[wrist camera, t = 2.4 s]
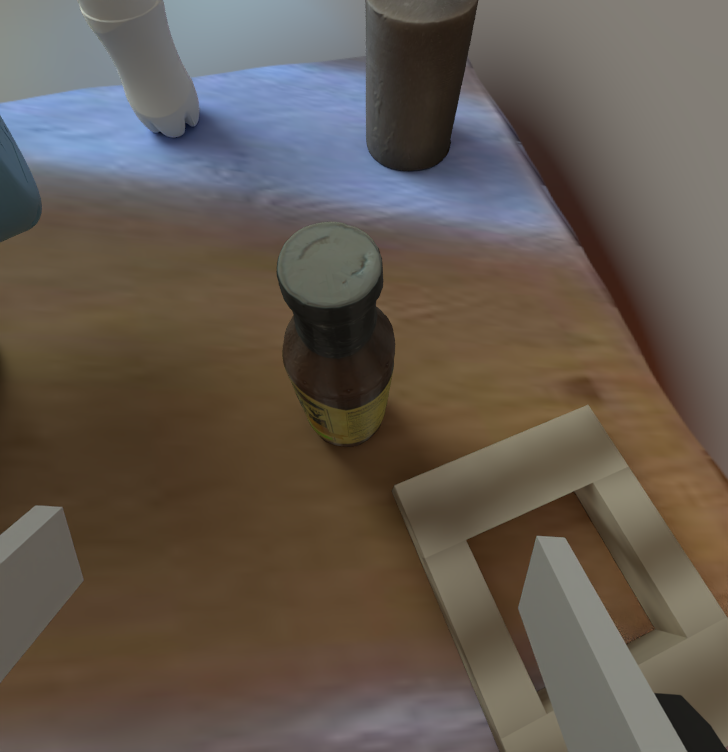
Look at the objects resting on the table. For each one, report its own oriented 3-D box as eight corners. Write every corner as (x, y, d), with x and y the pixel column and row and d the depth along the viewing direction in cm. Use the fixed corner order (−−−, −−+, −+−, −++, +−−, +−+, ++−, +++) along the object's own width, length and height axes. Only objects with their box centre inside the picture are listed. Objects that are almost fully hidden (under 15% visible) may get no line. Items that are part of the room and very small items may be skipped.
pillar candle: (467, 142, 46) (509, -32, 33) (409, 186, 44) (428, 16, 30) (405, 104, 49) (420, -71, 35) (346, 142, 46) (338, -31, 33)
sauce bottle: (302, 387, 34) (233, 203, 16) (374, 372, 35) (386, 176, 17) (317, 461, 32) (254, 342, 14) (393, 443, 32) (433, 305, 14)
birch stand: (391, 491, 31) (394, 485, 28) (569, 416, 33) (588, 404, 31) (527, 817, 24) (548, 853, 21) (742, 693, 26) (787, 710, 23)
